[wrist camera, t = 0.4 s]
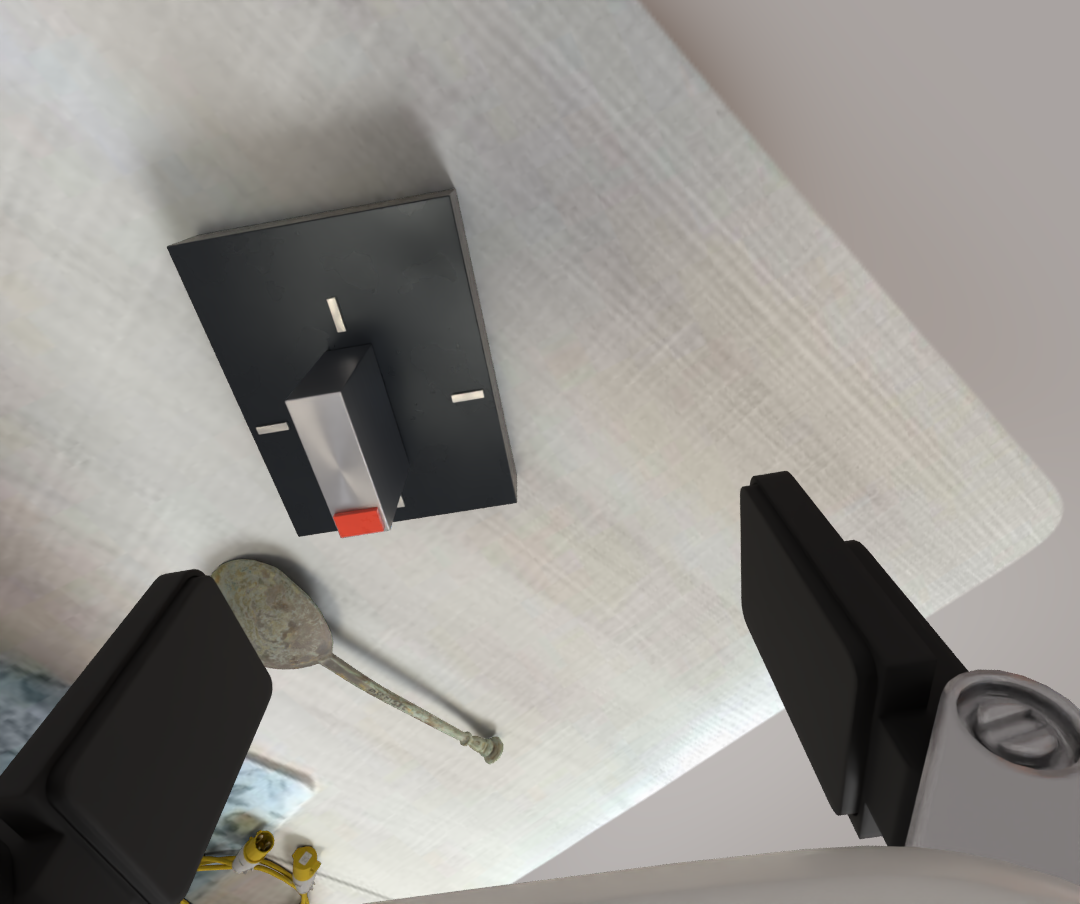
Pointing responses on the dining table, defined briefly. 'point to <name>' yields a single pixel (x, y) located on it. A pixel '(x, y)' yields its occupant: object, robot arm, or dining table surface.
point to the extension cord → (269, 863)
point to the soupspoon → (309, 638)
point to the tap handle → (351, 439)
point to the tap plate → (360, 342)
